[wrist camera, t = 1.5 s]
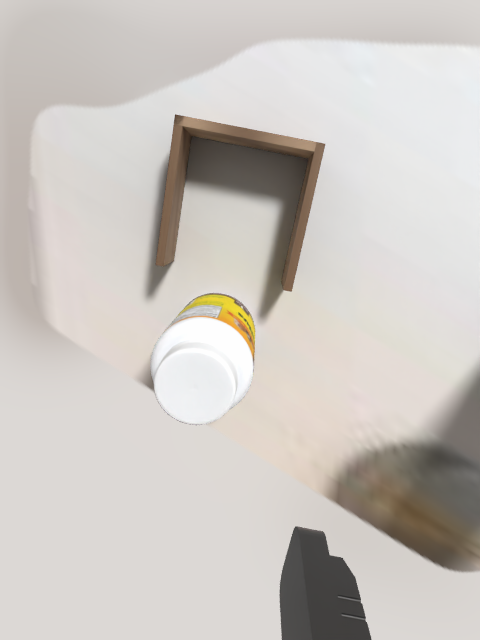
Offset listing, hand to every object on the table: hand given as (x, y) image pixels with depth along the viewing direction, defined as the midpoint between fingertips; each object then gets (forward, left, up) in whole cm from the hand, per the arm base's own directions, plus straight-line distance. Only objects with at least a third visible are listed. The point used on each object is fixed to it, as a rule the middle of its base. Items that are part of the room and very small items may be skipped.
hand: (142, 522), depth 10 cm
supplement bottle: (0, 0, -19) cm, 19 cm away
